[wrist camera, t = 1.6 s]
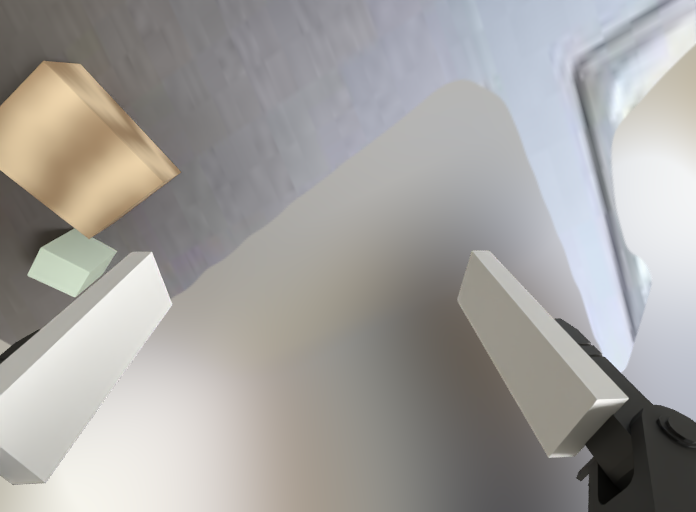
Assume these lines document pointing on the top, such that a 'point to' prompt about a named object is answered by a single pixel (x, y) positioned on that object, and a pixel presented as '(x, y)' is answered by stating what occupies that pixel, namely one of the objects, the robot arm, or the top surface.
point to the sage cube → (71, 262)
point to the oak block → (78, 148)
